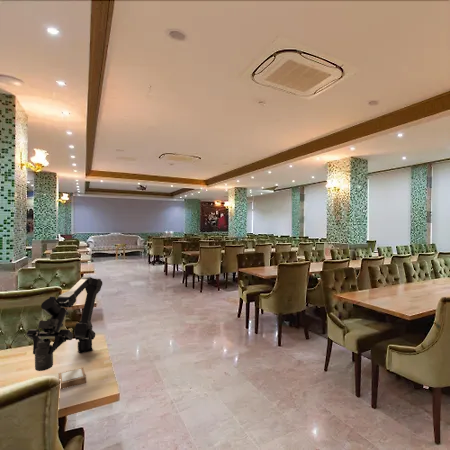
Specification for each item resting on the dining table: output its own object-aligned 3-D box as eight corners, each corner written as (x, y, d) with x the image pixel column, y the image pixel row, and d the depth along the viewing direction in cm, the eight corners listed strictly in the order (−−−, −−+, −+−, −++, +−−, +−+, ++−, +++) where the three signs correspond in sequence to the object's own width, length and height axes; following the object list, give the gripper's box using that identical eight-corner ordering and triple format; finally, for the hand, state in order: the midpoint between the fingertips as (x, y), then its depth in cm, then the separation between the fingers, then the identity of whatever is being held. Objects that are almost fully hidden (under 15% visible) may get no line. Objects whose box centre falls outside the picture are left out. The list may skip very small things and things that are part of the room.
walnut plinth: (83, 372, 136) (83, 366, 136) (86, 382, 128) (86, 376, 128) (58, 378, 131) (58, 372, 131) (59, 389, 123) (59, 383, 123)
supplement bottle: (56, 365, 130) (56, 338, 130) (42, 372, 124) (42, 344, 124) (45, 362, 133) (45, 336, 132) (31, 369, 126) (30, 342, 126)
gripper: (28, 311, 132) (10, 346, 121) (69, 311, 131) (55, 347, 121) (39, 322, 140) (24, 356, 129) (78, 322, 140) (66, 356, 129)
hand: (41, 354), depth 127 cm, fingers closed on supplement bottle, 7 cm apart
